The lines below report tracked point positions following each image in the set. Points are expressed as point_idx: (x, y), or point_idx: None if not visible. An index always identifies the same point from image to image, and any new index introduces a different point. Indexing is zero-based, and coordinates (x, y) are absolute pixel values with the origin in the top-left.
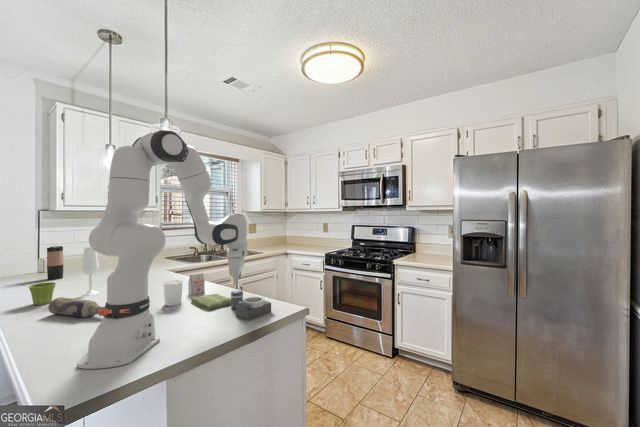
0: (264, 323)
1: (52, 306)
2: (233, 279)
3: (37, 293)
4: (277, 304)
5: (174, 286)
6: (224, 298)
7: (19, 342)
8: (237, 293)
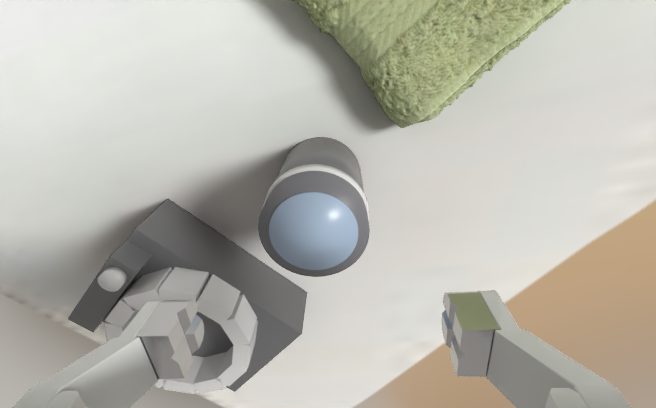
0: (104, 332)
1: None
2: (86, 356)
3: None
4: (363, 364)
5: None
6: (437, 59)
7: None
8: (266, 244)
